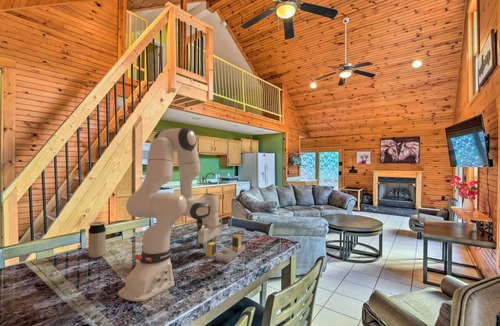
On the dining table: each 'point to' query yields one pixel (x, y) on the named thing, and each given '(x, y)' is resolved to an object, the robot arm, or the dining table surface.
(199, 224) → the coffee jar
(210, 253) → the yellow block grey top
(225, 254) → the beige base with post
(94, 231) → the travel mug
